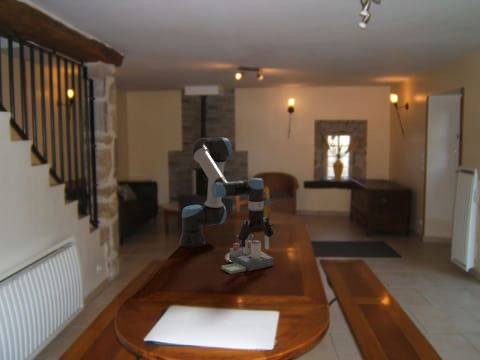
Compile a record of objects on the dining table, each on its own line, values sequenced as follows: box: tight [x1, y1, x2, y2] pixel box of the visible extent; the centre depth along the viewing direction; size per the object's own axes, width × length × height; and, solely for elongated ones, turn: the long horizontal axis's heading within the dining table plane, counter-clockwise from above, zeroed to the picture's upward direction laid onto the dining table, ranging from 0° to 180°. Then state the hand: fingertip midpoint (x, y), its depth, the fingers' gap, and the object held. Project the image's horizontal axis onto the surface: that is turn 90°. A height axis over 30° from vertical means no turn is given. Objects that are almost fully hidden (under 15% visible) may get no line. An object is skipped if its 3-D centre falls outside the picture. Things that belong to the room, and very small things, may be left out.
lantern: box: [263, 191, 274, 229], centre depth 297 cm, size 14×14×30 cm
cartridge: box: [251, 239, 262, 260], centre depth 208 cm, size 5×5×13 cm
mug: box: [236, 233, 254, 251], centre depth 228 cm, size 12×9×11 cm
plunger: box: [232, 242, 239, 250], centre depth 213 cm, size 3×3×4 cm
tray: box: [221, 263, 247, 275], centre depth 202 cm, size 9×9×2 cm
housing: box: [228, 247, 274, 272], centre depth 212 cm, size 18×15×7 cm
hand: (256, 251), depth 207 cm, fingers open, 13 cm apart
